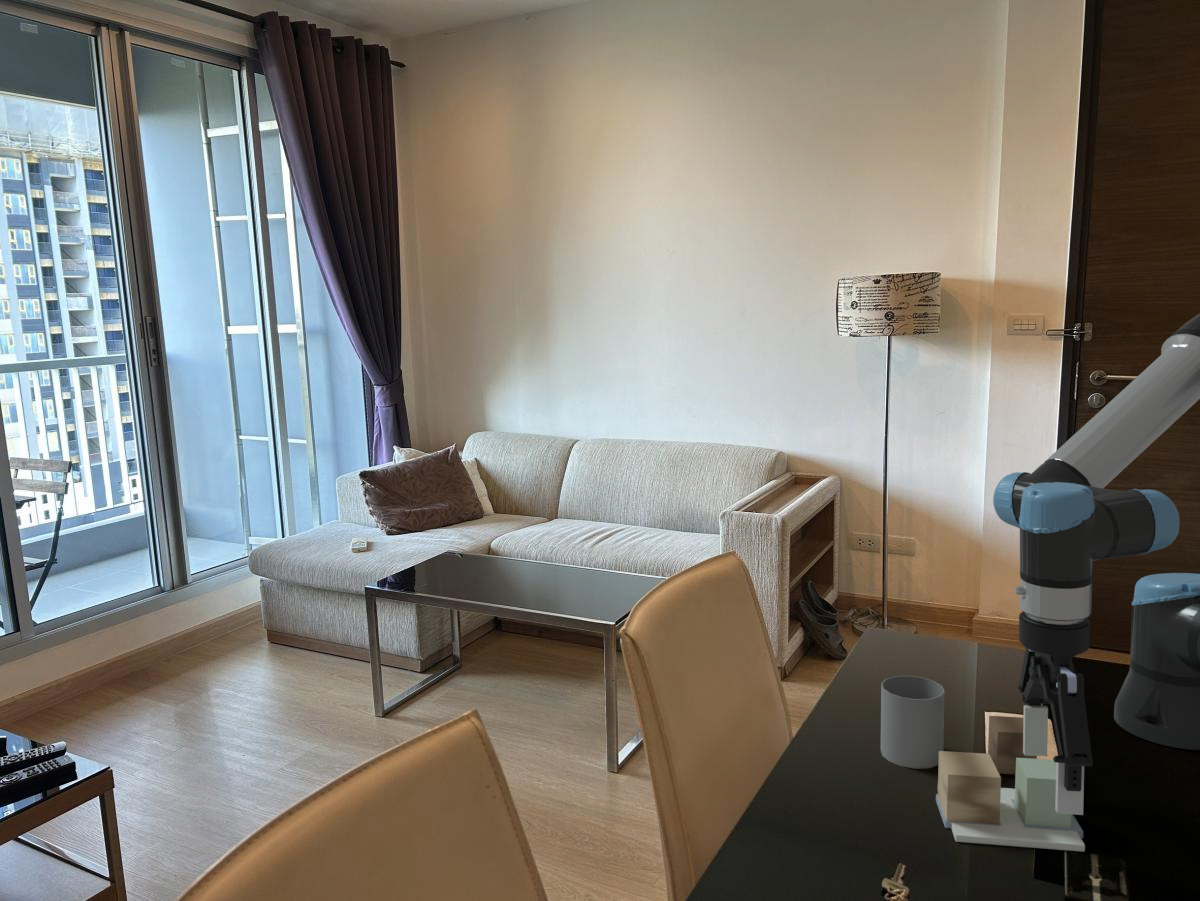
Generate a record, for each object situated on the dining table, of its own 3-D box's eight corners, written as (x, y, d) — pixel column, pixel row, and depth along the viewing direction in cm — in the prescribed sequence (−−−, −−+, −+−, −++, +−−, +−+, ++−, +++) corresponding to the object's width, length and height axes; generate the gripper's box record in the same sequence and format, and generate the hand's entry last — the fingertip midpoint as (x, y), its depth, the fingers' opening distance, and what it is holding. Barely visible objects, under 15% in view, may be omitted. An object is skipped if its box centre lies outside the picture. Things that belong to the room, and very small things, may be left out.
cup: (947, 770, 120) (949, 701, 119) (884, 766, 122) (885, 698, 121) (936, 742, 129) (938, 677, 127) (878, 738, 130) (878, 674, 129)
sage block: (1057, 805, 109) (1059, 760, 109) (1070, 827, 105) (1072, 780, 104) (1014, 802, 110) (1016, 757, 110) (1025, 824, 106) (1027, 777, 105)
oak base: (987, 798, 112) (989, 753, 111) (999, 824, 106) (1001, 777, 105) (937, 795, 113) (938, 750, 112) (946, 820, 107) (947, 774, 106)
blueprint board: (1058, 797, 113) (1058, 791, 113) (1091, 852, 101) (1091, 845, 101) (932, 788, 116) (932, 782, 116) (949, 841, 104) (949, 834, 104)
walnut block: (1025, 758, 123) (1027, 717, 122) (1036, 776, 118) (1037, 733, 118) (987, 755, 124) (989, 715, 123) (996, 773, 119) (997, 731, 119)
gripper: (994, 582, 117) (993, 732, 120) (1052, 653, 93) (1048, 839, 96) (1055, 582, 115) (1053, 734, 118) (1130, 654, 91) (1124, 843, 94)
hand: (1051, 782), depth 107 cm, fingers open, 13 cm apart
